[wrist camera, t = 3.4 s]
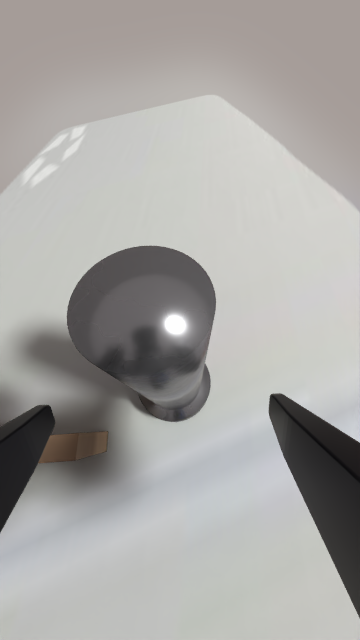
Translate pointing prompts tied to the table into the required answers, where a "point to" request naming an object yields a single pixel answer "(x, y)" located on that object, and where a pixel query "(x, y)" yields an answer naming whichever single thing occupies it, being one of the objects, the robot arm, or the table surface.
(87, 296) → the grey metal rounded post
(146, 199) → the table surface
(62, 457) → the v block
